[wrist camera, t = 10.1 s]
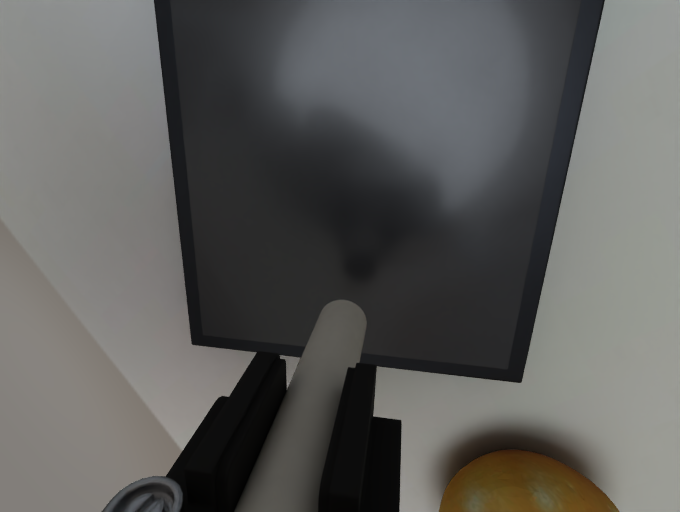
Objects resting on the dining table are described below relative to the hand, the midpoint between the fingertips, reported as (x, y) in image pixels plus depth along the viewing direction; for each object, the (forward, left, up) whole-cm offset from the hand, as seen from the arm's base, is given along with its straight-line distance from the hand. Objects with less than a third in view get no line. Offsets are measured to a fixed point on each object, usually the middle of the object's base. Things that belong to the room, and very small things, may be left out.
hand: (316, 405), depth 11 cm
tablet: (0, +6, -9) cm, 11 cm away
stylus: (0, 0, -5) cm, 5 cm away
